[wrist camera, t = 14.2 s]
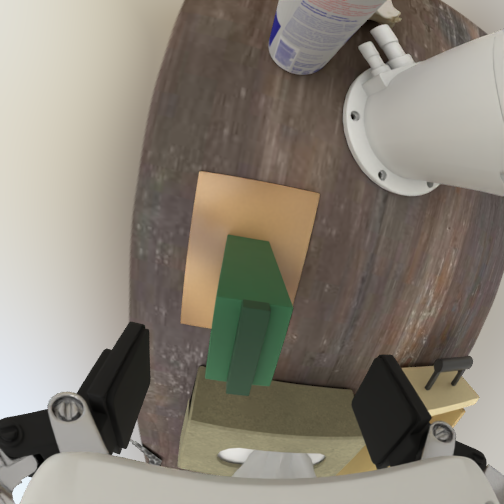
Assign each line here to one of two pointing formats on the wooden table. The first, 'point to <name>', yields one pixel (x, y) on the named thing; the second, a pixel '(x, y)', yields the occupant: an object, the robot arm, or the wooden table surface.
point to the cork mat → (242, 234)
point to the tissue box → (268, 431)
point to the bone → (386, 14)
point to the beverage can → (315, 31)
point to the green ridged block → (248, 317)
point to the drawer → (443, 388)
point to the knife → (147, 454)
